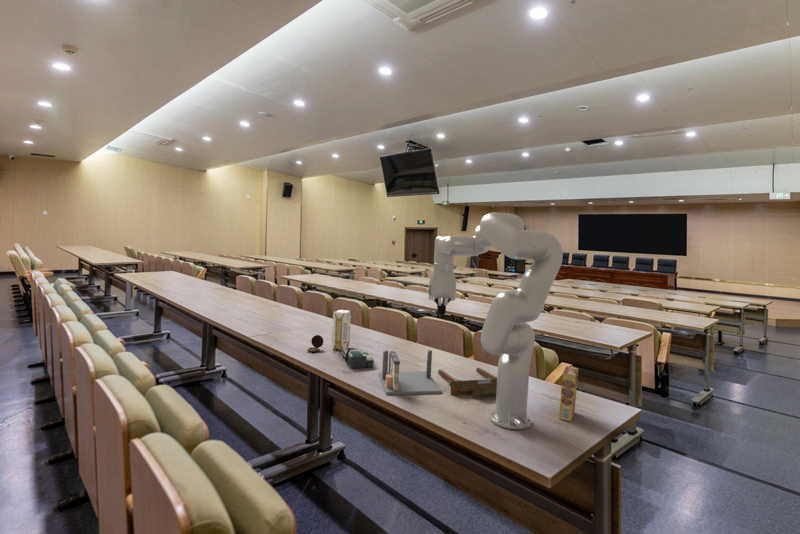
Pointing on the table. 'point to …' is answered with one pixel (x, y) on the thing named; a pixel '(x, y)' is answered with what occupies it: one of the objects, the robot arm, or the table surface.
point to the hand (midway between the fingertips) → (441, 315)
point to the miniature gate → (473, 385)
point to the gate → (394, 369)
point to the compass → (316, 344)
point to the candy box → (568, 393)
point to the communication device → (357, 358)
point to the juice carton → (341, 329)
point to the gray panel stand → (409, 379)
